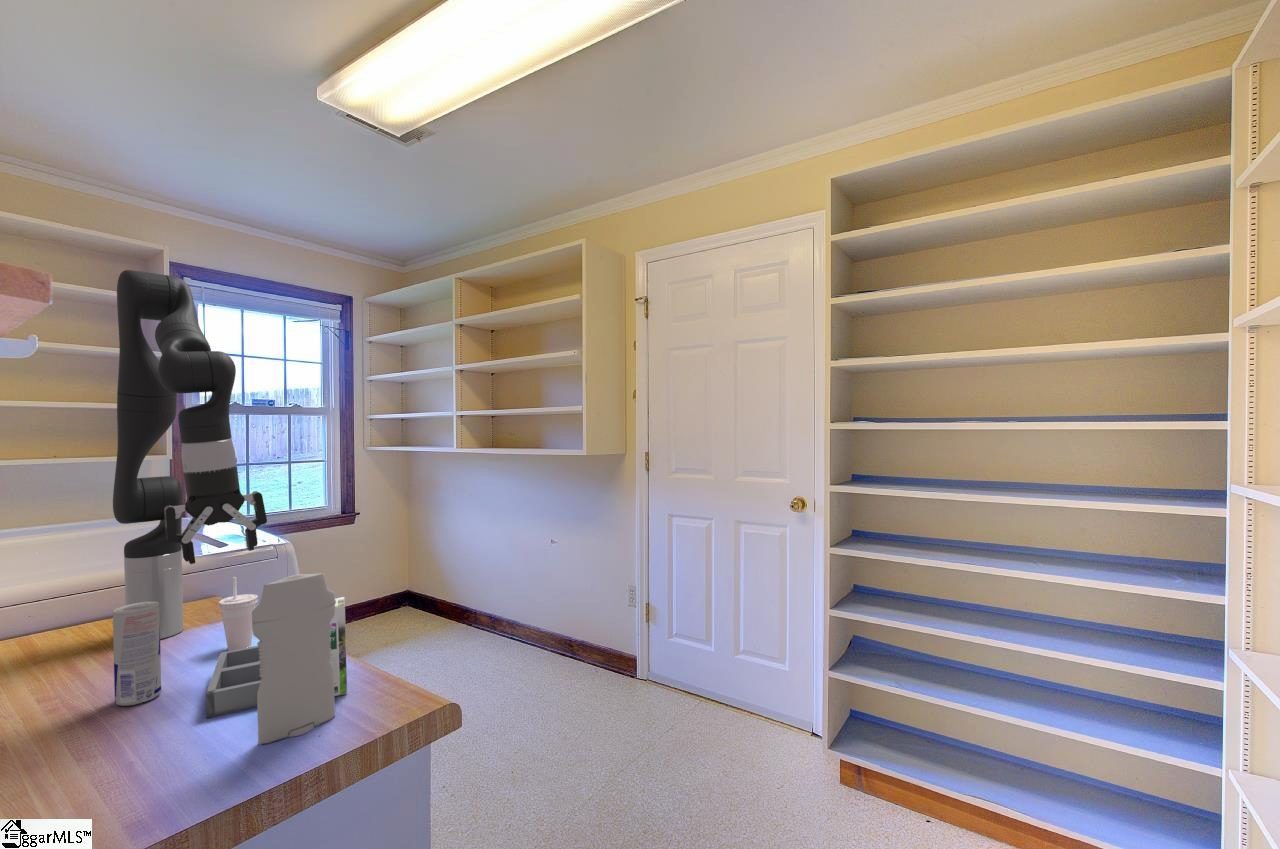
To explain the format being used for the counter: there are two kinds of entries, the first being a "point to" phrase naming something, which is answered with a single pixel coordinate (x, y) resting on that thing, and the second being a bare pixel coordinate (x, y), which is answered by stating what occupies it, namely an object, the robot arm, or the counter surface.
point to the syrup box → (339, 647)
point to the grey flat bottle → (294, 656)
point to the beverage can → (136, 653)
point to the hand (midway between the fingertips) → (222, 556)
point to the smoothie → (238, 618)
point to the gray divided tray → (234, 682)
